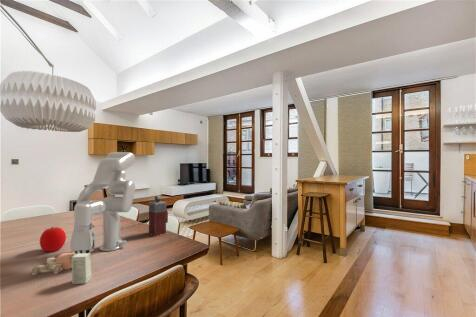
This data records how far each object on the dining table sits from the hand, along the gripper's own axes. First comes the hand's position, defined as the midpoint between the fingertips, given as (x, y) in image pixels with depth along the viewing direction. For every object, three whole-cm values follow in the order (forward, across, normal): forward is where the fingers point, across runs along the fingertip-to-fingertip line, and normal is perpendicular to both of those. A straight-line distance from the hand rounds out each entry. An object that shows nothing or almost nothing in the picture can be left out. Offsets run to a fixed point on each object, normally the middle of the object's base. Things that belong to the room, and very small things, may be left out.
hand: (82, 262), depth 121 cm
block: (+2, +8, 0) cm, 8 cm away
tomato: (+2, +28, -24) cm, 37 cm away
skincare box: (+2, -7, +16) cm, 18 cm away
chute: (+2, +13, 0) cm, 14 cm away
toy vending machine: (+2, -29, -48) cm, 56 cm away
